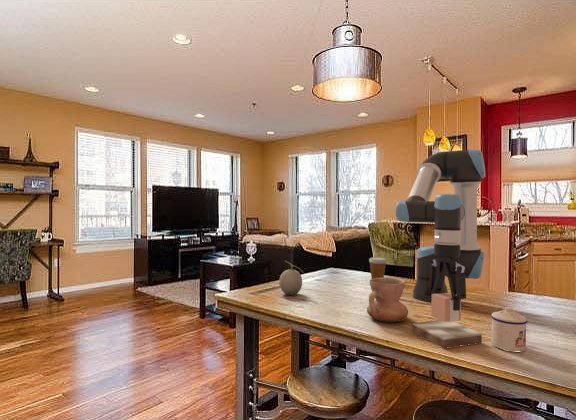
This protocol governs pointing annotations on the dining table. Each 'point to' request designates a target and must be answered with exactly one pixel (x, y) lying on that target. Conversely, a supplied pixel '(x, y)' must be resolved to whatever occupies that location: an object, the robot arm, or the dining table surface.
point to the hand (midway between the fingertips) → (446, 316)
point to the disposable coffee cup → (377, 267)
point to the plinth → (447, 333)
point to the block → (442, 306)
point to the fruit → (290, 281)
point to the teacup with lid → (508, 330)
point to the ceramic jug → (386, 300)
